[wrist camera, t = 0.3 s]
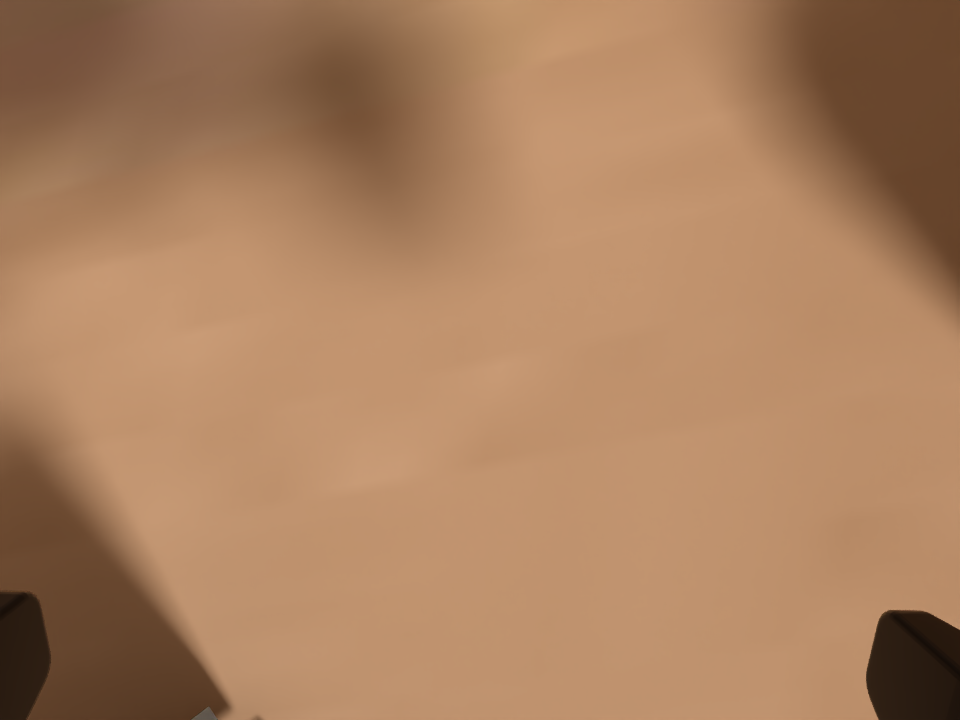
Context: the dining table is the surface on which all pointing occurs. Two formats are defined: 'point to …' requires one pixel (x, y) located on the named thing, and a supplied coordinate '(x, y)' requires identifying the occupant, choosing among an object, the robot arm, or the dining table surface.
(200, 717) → the grey rectangular slab
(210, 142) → the dining table surface
